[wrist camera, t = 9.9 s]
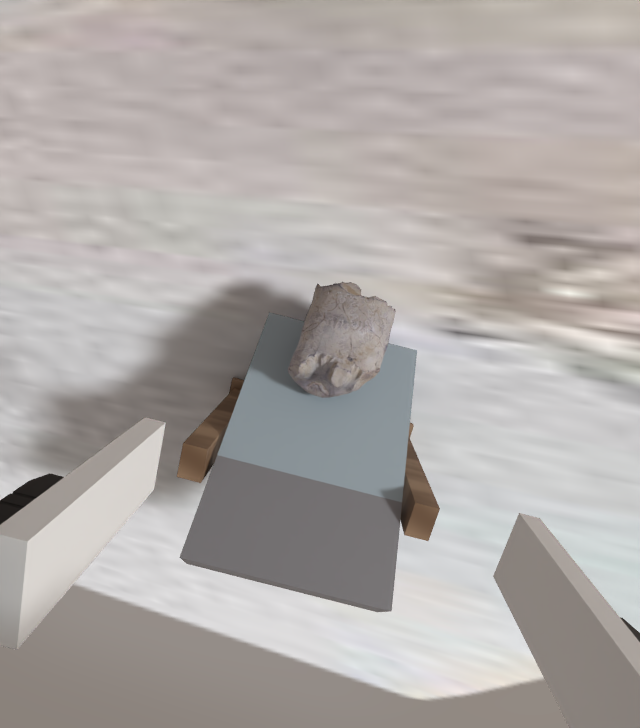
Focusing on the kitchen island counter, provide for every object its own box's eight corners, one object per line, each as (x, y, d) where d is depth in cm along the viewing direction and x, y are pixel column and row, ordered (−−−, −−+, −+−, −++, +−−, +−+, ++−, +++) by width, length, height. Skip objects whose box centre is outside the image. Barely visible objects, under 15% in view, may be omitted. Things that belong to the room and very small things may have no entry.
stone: (280, 398, 38) (286, 358, 32) (314, 304, 44) (325, 257, 38) (363, 424, 38) (384, 389, 32) (385, 326, 44) (406, 282, 38)
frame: (233, 377, 49) (179, 430, 32) (412, 423, 49) (449, 499, 32) (225, 415, 50) (168, 486, 33) (400, 460, 50) (430, 553, 33)
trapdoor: (268, 334, 46) (269, 312, 43) (404, 369, 46) (416, 350, 43) (186, 563, 33) (179, 557, 30) (377, 611, 33) (391, 611, 30)
